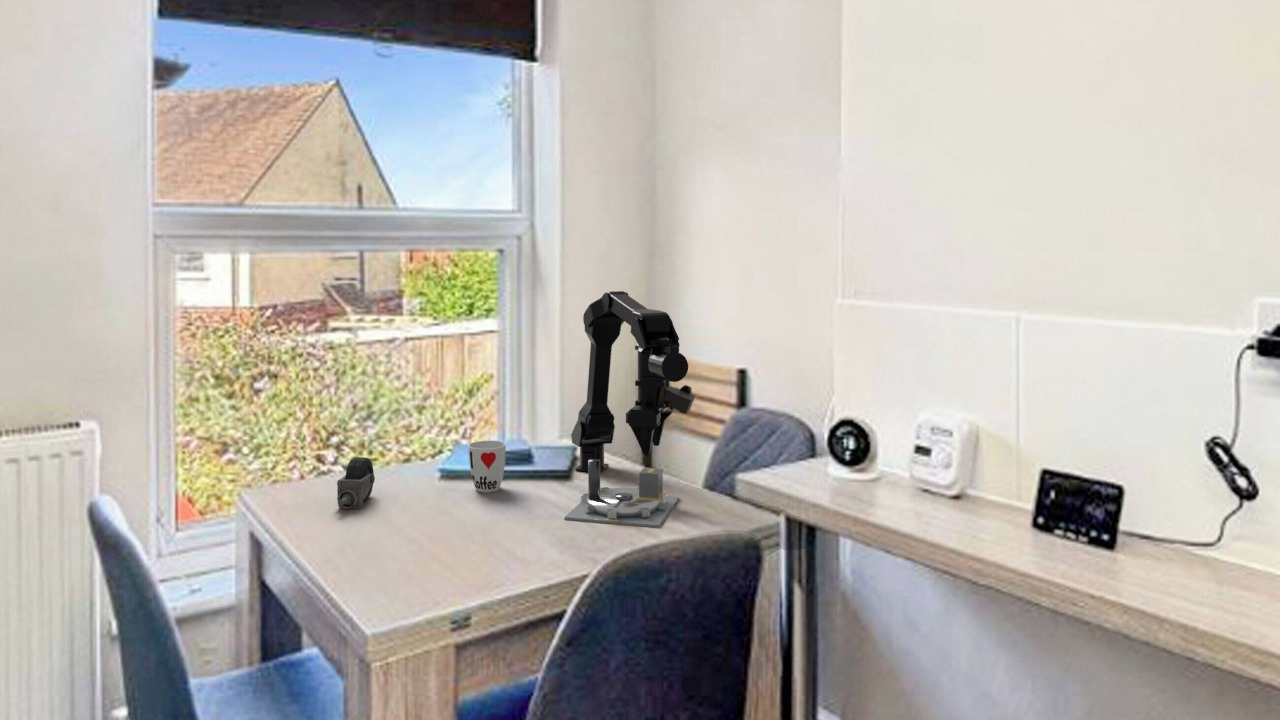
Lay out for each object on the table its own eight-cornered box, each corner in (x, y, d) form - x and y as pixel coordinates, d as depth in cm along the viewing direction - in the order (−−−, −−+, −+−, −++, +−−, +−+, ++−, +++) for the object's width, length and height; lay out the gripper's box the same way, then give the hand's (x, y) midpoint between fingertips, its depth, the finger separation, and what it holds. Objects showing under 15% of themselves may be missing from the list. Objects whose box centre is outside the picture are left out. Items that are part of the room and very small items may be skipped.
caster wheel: (354, 498, 194) (327, 513, 179) (354, 453, 194) (326, 465, 179) (380, 499, 194) (355, 514, 179) (380, 454, 194) (355, 465, 179)
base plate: (593, 492, 196) (593, 489, 196) (679, 499, 191) (679, 496, 191) (564, 519, 178) (564, 516, 178) (658, 527, 173) (658, 524, 173)
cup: (462, 492, 195) (461, 447, 194) (479, 482, 203) (478, 439, 202) (496, 496, 193) (495, 450, 192) (512, 485, 201) (511, 441, 199)
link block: (643, 491, 188) (643, 467, 187) (662, 492, 187) (662, 468, 186) (639, 496, 184) (639, 472, 184) (658, 498, 183) (658, 473, 183)
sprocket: (595, 490, 195) (595, 446, 194) (675, 496, 191) (675, 452, 189) (568, 514, 178) (568, 467, 177) (656, 522, 174) (656, 474, 172)
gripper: (681, 383, 171) (681, 464, 173) (699, 369, 189) (699, 442, 191) (625, 381, 174) (625, 460, 176) (648, 367, 192) (647, 439, 194)
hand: (651, 450), depth 184 cm, fingers open, 8 cm apart
